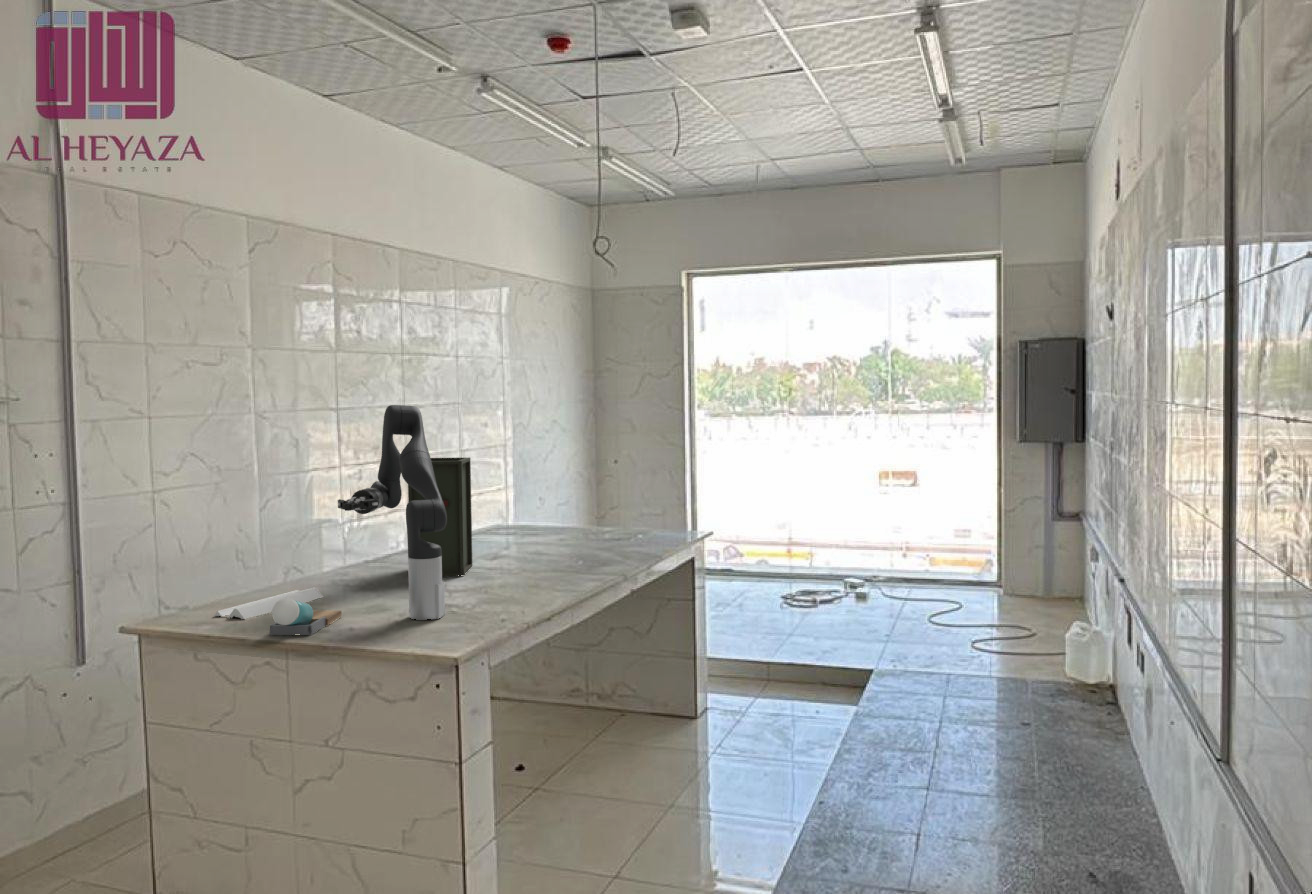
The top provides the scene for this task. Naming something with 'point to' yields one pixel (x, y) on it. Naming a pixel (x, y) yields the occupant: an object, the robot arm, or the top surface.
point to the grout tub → (292, 612)
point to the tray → (297, 628)
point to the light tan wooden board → (329, 616)
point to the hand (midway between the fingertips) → (347, 507)
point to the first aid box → (452, 514)
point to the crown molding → (268, 603)
